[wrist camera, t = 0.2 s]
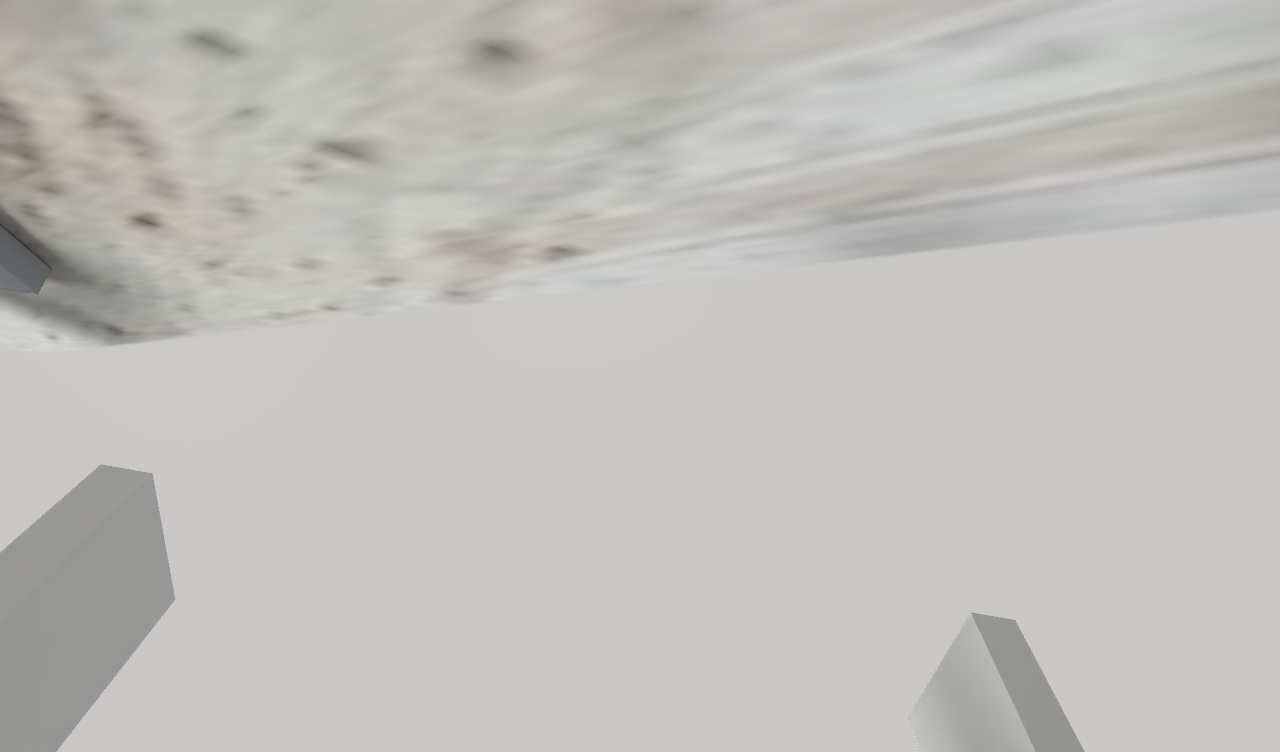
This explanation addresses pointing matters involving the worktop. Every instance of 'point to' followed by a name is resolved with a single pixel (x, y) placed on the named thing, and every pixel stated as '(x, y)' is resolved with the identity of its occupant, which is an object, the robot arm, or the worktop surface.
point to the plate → (20, 266)
